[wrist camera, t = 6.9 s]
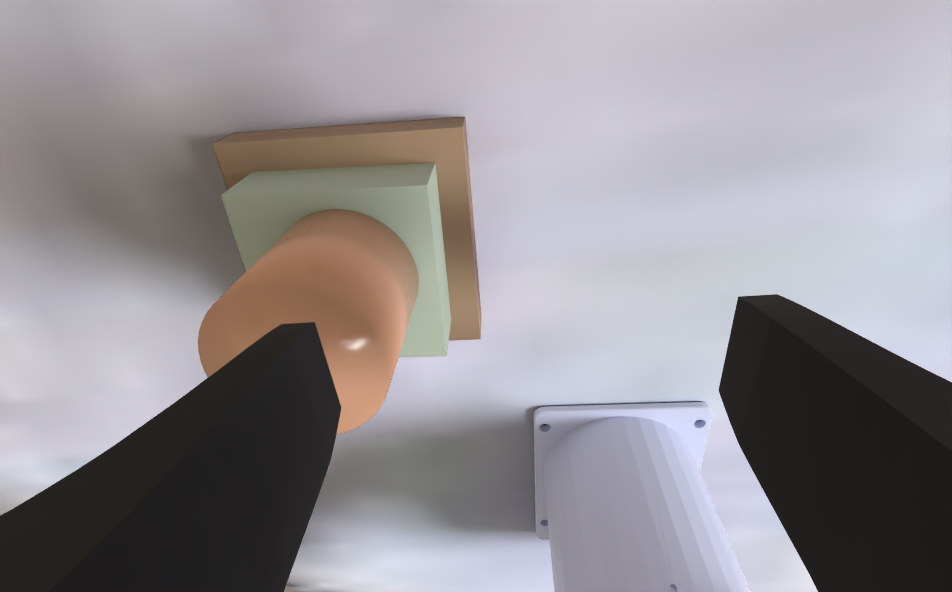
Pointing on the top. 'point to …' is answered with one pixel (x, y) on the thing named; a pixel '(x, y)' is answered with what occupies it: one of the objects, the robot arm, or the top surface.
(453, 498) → the top surface
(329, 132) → the tower base
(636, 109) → the top surface
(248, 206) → the tower top
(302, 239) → the terracotta cylinder
